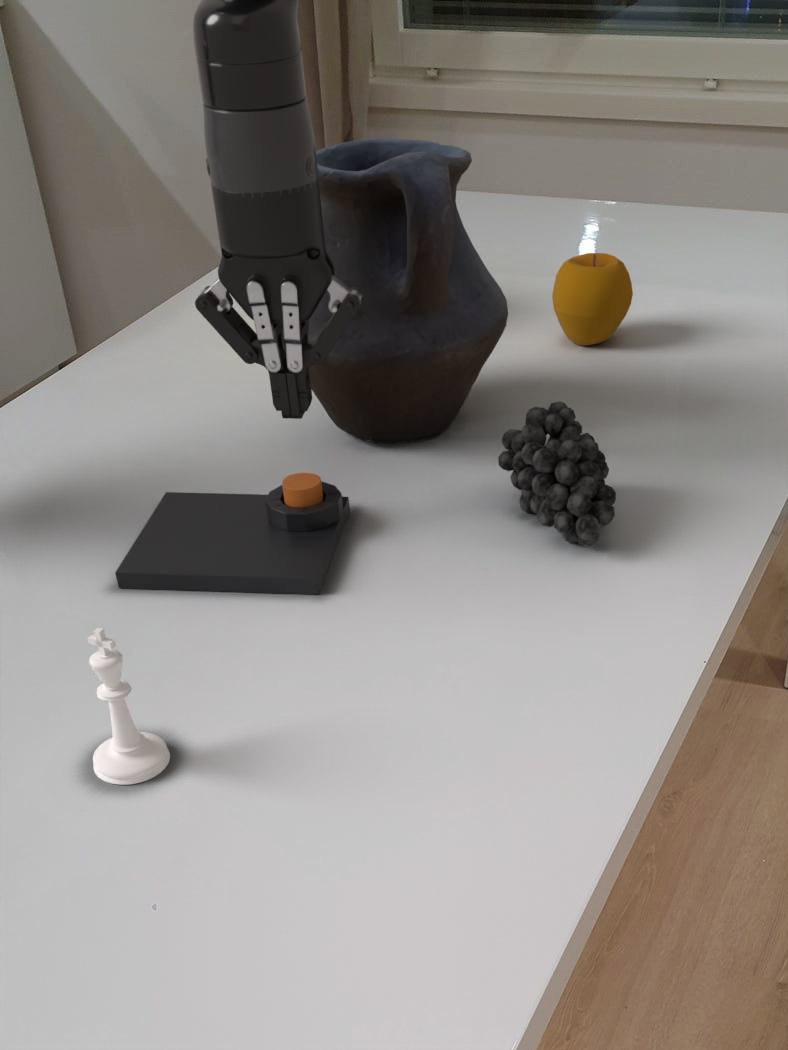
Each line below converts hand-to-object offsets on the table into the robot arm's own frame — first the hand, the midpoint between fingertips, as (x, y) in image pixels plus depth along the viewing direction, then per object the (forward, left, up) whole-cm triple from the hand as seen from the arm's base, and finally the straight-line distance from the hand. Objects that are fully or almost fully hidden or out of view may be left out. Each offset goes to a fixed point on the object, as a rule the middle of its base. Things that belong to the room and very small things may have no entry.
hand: (294, 414), depth 101 cm
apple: (+22, +44, -10) cm, 51 cm away
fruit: (+21, +2, -10) cm, 23 cm away
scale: (-5, -4, -10) cm, 12 cm away
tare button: (0, 0, -7) cm, 7 cm away
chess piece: (-5, -33, -10) cm, 34 cm away
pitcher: (+5, +21, -10) cm, 24 cm away
